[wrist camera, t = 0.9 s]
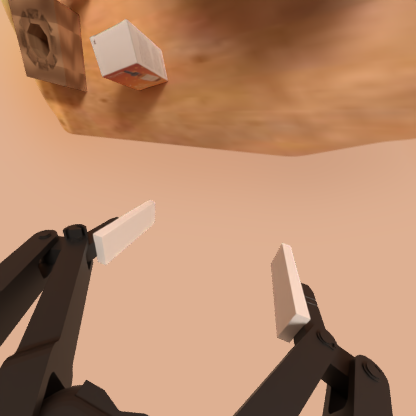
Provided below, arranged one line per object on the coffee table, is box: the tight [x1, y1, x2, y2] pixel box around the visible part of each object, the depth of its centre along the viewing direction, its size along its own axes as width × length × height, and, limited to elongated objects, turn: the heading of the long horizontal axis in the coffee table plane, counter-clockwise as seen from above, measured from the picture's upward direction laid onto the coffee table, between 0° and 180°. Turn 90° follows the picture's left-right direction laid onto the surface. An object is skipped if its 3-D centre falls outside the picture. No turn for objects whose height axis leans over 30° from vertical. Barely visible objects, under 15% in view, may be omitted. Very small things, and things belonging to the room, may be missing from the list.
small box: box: [90, 19, 168, 91], centre depth 31 cm, size 8×6×10 cm
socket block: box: [8, 0, 87, 92], centre depth 37 cm, size 14×12×5 cm
